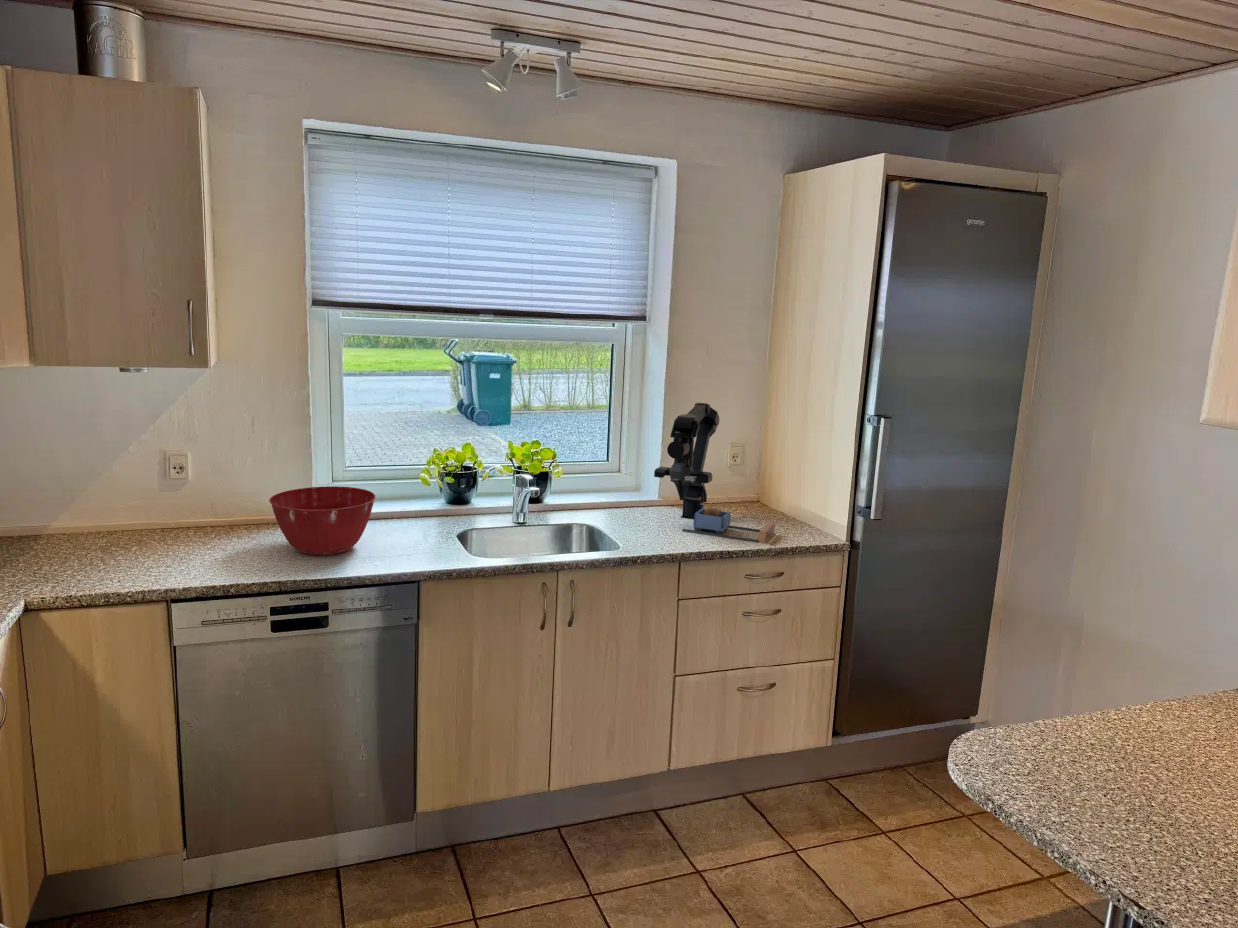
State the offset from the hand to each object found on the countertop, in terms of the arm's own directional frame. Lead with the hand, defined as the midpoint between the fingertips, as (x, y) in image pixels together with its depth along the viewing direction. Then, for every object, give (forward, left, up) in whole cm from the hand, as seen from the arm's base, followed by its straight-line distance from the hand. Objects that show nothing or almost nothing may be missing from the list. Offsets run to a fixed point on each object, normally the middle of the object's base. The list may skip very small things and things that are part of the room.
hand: (681, 499), depth 291 cm
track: (+17, 0, -9) cm, 19 cm away
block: (+11, 0, -7) cm, 13 cm away
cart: (+11, 0, -9) cm, 14 cm away
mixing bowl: (-81, -80, -9) cm, 114 cm away
